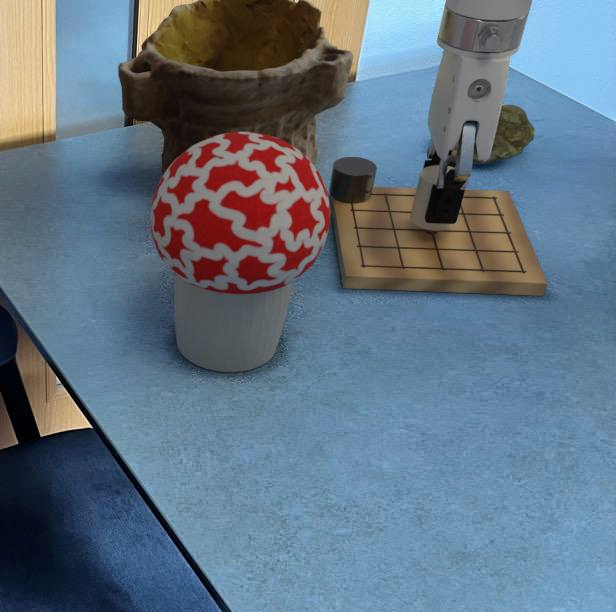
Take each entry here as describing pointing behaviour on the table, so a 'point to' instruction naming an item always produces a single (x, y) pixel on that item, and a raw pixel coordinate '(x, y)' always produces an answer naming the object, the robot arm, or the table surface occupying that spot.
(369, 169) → the black stone
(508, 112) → the green rock
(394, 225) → the board
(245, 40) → the ceramic vessel
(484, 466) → the table surface
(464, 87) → the robot arm
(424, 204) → the beige cylinder
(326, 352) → the table surface
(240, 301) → the decorative object
